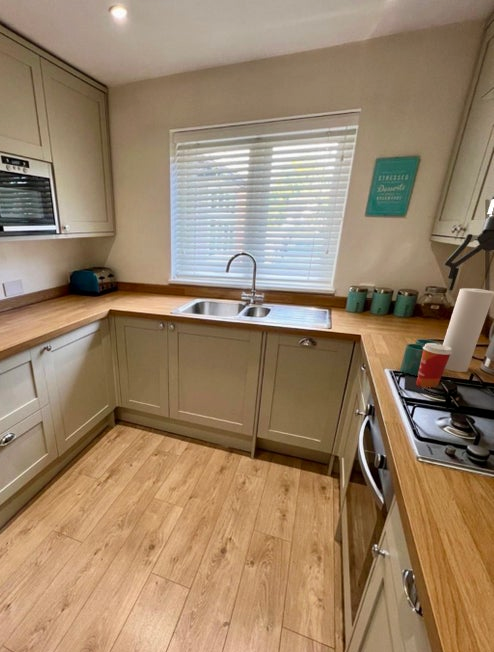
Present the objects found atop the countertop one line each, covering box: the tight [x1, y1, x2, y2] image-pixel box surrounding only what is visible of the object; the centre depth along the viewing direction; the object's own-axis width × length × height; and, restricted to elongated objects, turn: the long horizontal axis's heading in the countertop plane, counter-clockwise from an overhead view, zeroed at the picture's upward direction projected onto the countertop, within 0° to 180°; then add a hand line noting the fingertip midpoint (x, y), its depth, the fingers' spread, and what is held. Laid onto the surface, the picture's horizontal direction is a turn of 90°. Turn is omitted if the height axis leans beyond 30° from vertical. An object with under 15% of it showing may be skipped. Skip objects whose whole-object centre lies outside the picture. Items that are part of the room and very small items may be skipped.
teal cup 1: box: [399, 343, 424, 376], centre depth 119 cm, size 7×7×10 cm
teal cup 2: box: [414, 338, 441, 346], centre depth 125 cm, size 7×7×10 cm
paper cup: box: [416, 343, 452, 388], centre depth 107 cm, size 8×8×14 cm
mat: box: [403, 375, 440, 397], centre depth 110 cm, size 12×12×1 cm
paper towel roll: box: [442, 287, 494, 373], centre depth 122 cm, size 9×9×30 cm
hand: (478, 292), depth 99 cm, fingers open, 13 cm apart
